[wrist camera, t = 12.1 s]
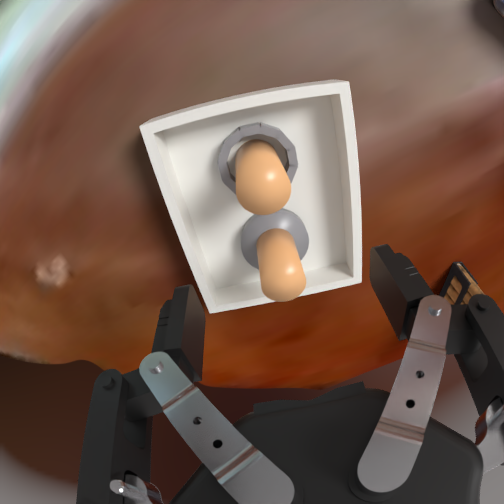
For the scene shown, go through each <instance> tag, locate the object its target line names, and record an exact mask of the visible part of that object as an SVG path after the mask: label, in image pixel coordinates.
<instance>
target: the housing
mask: <svg viewBox="0 0 504 504" xmlns="http://www.w3.org/2000/svg"><path fill="white" fill-rule="evenodd" d="M139 127H140V130H141V133H142V136H143V139H144V142H145V145H146V148H147V151H148V154H149V157H150V160H151V163H152V166H153V169H154V172H155V175H156V178H157V181H158V183H159V186H160V189H161V192H162V195H163V197H164V200H165V203H166V205H167V208H168V211H169V214H170V216H171V219H172V222H173V224H174V227H175V229H176V232H177V235H178V237H179V240H180V242H181V245H182V247H183V250H184V252H185V255H186V257H187V260H188V262H189V265H190V267H191V270H192V272H193V275H194V277H195V280H196V282H197V284H198V287H199V289H200V292H201V294H202V296H203V299H204V301H205V303H206V306H207V308H208V310H209V313H215V312H221V311H227V310H232V309H238V308H243V307H249V306H254V305H259V304H264V303H269V302H274V301H279V302H283V301H289V300H292V299H294V298H296V297H299V296H304V295H308V294H313V293H317V292H322V291H326V290H331V289H335V288H340V287H344V286H348V285H353V284H357V283H361V282H362V223H361V196H360V178H359V164H358V152H357V141H356V132H355V123H354V114H353V106H352V99H351V92H350V85H349V81H342V80H325V81H316V82H308V83H301V84H294V85H288V86H281V87H275V88H270V89H264V90H259V91H254V92H249V93H244V94H240V95H235V96H231V97H226V98H222V99H218V100H214V101H210V102H206V103H202V104H199V105H195V106H191V107H188V108H184V109H181V110H178V111H174V112H171V113H168V114H165V115H161V116H158V117H155V118H152V119H150V120H149V121H147V122H145V123H144V124H142V125H141V126H139ZM253 139H260V140H264V141H266V142H268V143H270V144H271V145H272V146H273V147H274V149H275V151H276V153H277V155H278V157H279V159H280V161H281V163H282V165H283V167H284V169H285V171H286V173H287V175H288V178H289V180H290V183H291V195H290V198H289V200H288V202H287V203H286V205H285V206H284V207H283V208H282V209H280V210H279V211H277V212H275V213H272V214H269V215H257V214H253V213H251V212H249V211H247V210H246V209H244V208H243V207H242V206H241V204H240V203H239V201H238V199H237V196H236V169H235V157H236V153H237V151H238V149H239V147H240V146H241V145H242V144H244V143H245V142H247V141H249V140H253Z"/></svg>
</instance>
